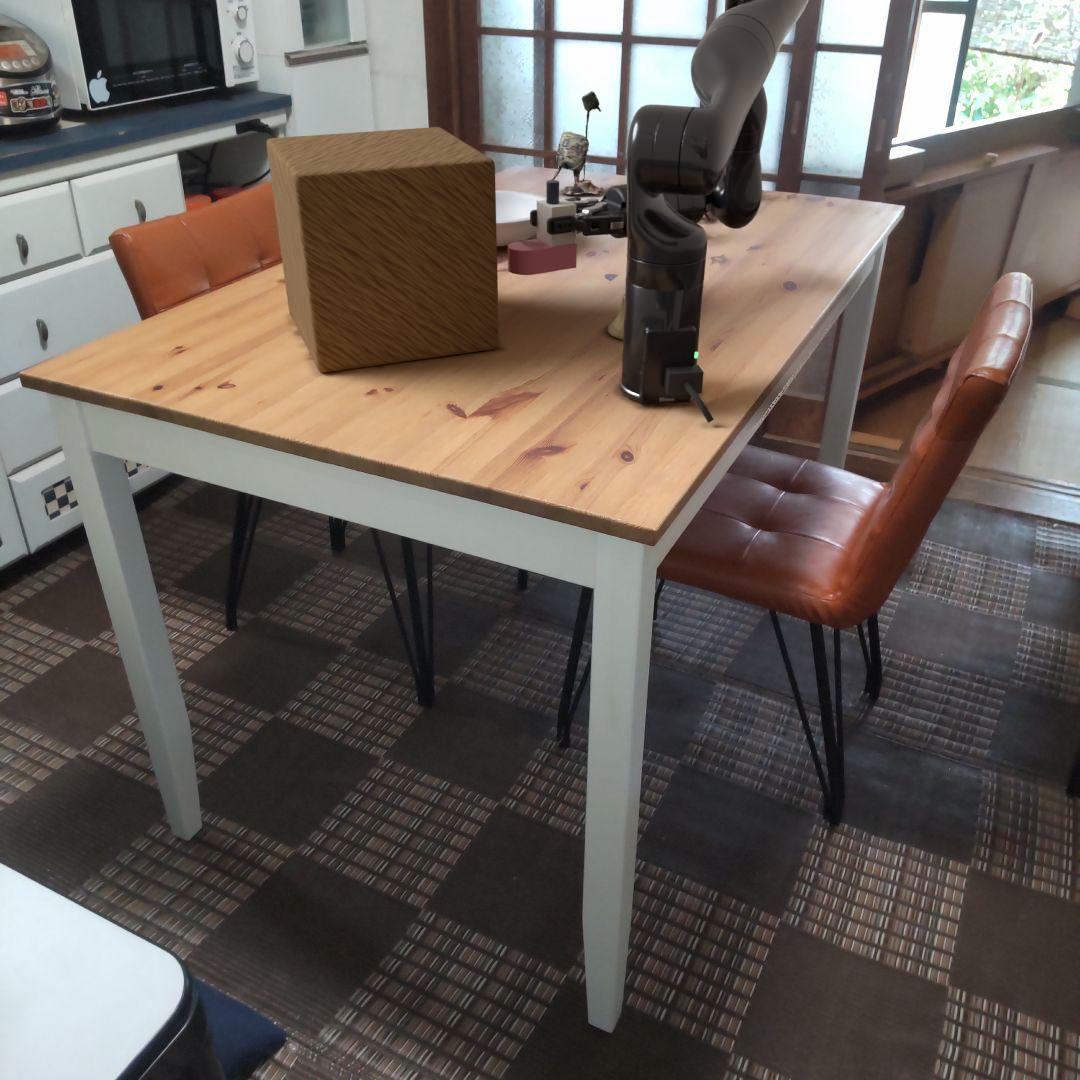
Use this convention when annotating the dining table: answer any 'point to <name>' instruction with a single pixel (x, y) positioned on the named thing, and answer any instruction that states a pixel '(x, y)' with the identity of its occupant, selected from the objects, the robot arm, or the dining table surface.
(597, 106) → the bird figurine
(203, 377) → the dining table surface
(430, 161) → the wood block
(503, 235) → the soup bowl
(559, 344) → the dining table surface
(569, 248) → the block stack
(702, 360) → the dining table surface
